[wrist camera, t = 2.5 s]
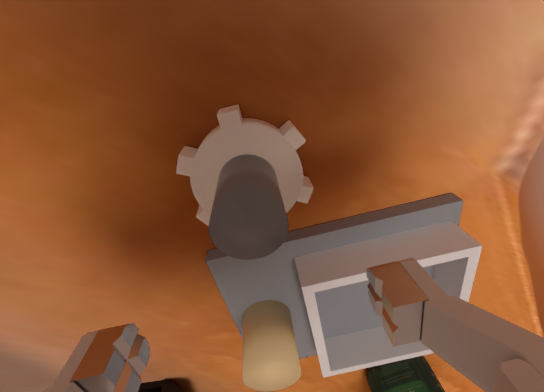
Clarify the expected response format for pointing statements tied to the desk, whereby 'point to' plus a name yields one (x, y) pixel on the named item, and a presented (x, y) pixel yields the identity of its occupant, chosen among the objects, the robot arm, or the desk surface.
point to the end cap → (159, 386)
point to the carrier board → (338, 289)
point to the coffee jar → (404, 377)
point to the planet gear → (246, 182)
